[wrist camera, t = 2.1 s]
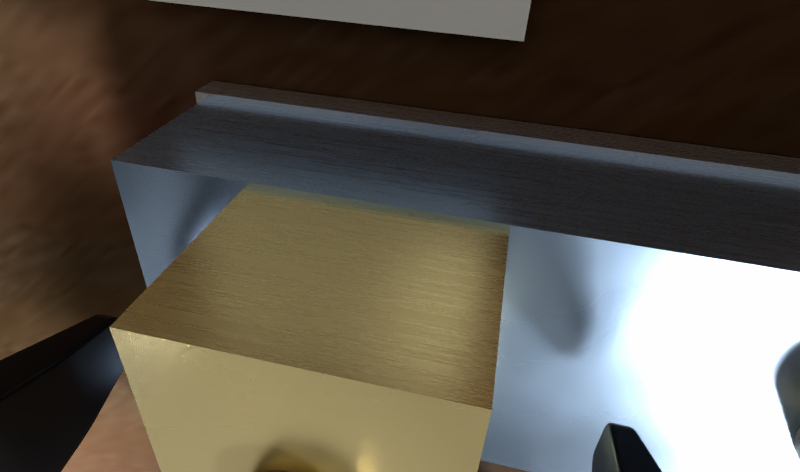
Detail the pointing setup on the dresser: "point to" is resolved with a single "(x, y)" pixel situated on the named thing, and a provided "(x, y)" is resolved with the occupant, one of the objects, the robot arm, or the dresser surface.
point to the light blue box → (541, 260)
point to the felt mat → (400, 13)
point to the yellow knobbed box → (319, 341)
